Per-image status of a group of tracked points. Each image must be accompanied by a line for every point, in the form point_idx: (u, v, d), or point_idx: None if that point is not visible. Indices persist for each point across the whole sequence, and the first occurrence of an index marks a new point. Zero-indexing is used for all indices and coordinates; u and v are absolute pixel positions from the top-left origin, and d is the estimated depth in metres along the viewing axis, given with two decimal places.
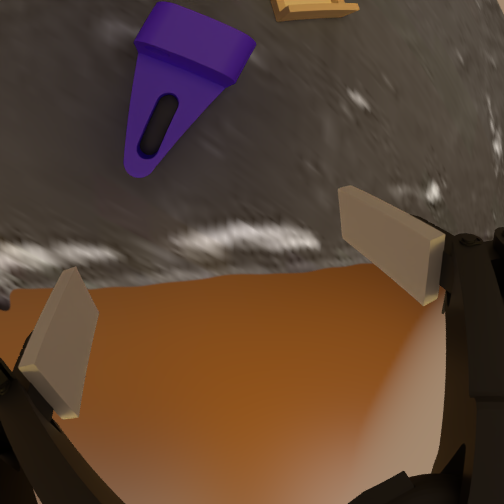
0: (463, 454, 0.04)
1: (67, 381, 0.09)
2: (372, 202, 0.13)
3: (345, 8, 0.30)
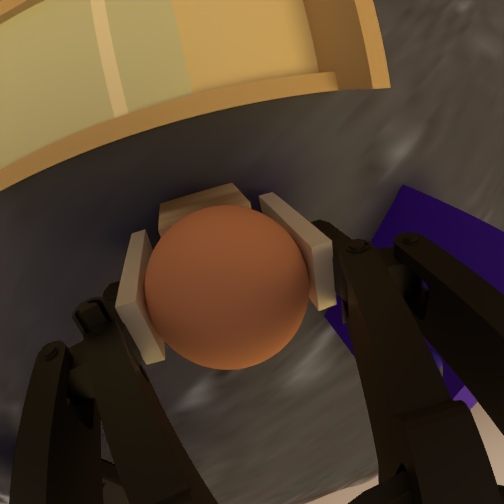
0: (406, 469, 0.04)
1: None
2: (280, 209, 0.14)
3: None
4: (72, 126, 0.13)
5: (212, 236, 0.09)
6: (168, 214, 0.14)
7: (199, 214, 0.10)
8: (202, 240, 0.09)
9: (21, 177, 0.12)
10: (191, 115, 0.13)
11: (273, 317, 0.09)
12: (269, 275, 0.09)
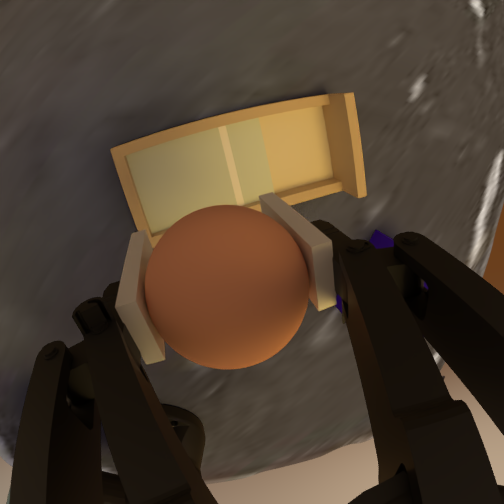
0: (406, 469, 0.04)
1: None
2: (280, 209, 0.14)
3: (355, 116, 0.26)
4: None
5: (212, 235, 0.09)
6: None
7: (199, 213, 0.10)
8: (202, 239, 0.09)
9: None
10: None
11: (273, 316, 0.09)
12: (269, 274, 0.09)
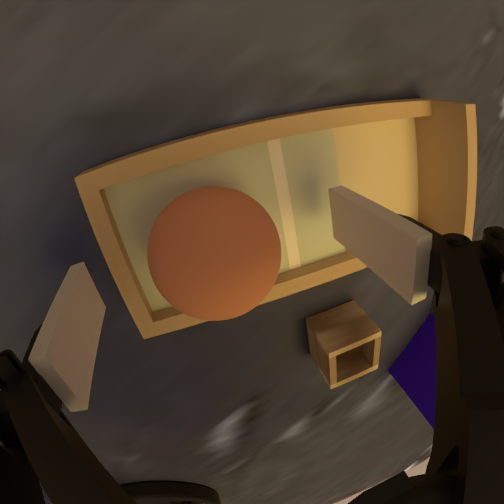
0: (457, 455, 0.04)
1: (76, 374, 0.09)
2: (361, 202, 0.13)
3: (475, 140, 0.14)
4: None
5: (200, 206, 0.12)
6: (324, 335, 0.21)
7: (191, 192, 0.13)
8: (193, 209, 0.12)
9: None
10: (349, 273, 0.19)
11: (247, 270, 0.12)
12: (244, 235, 0.12)
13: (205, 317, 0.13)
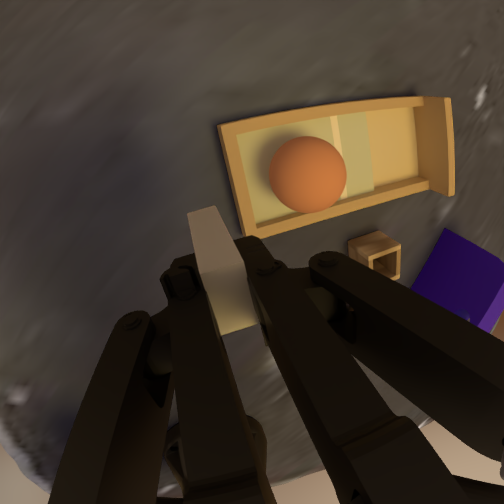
0: None
1: None
2: (212, 224, 0.14)
3: (451, 119, 0.24)
4: None
5: (309, 142, 0.21)
6: (363, 248, 0.30)
7: (299, 137, 0.23)
8: (305, 143, 0.21)
9: (295, 226, 0.28)
10: (377, 203, 0.29)
11: (335, 175, 0.21)
12: (333, 157, 0.21)
13: (308, 205, 0.22)
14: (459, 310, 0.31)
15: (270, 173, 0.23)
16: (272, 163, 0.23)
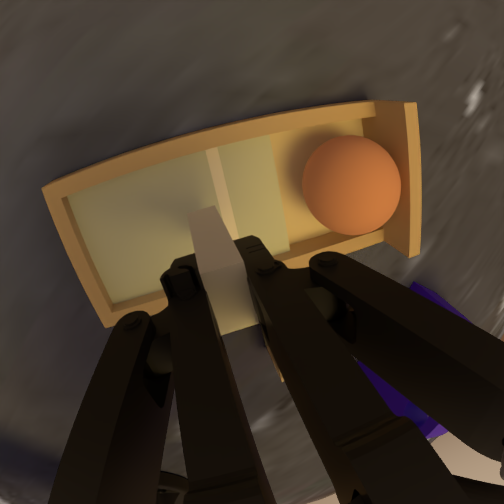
0: None
1: None
2: (212, 224, 0.14)
3: (417, 138, 0.16)
4: None
5: None
6: None
7: (346, 135, 0.17)
8: (325, 142, 0.18)
9: None
10: None
11: (302, 186, 0.18)
12: (306, 169, 0.18)
13: None
14: None
15: None
16: None
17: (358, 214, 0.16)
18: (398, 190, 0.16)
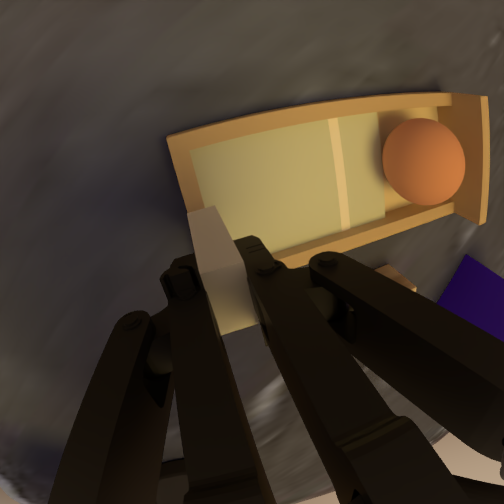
0: None
1: None
2: (212, 224, 0.14)
3: (488, 125, 0.17)
4: (313, 234, 0.21)
5: None
6: None
7: (421, 118, 0.17)
8: None
9: None
10: (389, 235, 0.22)
11: None
12: None
13: None
14: None
15: None
16: None
17: (412, 182, 0.17)
18: (455, 170, 0.16)
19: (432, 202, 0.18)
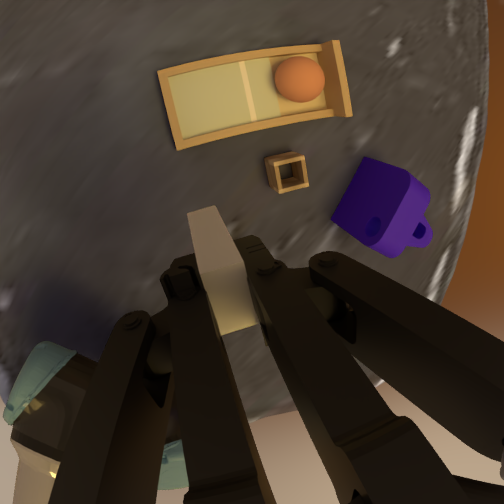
0: None
1: None
2: (212, 224, 0.14)
3: (340, 56, 0.32)
4: (234, 122, 0.36)
5: None
6: (272, 159, 0.38)
7: None
8: None
9: (212, 139, 0.36)
10: (282, 124, 0.37)
11: None
12: None
13: None
14: (374, 220, 0.39)
15: None
16: None
17: (289, 85, 0.32)
18: (313, 75, 0.31)
19: (304, 96, 0.33)
